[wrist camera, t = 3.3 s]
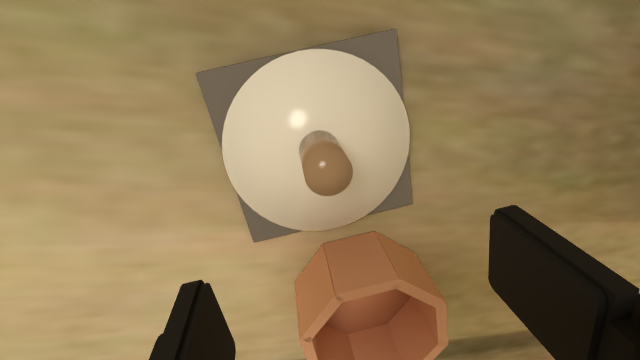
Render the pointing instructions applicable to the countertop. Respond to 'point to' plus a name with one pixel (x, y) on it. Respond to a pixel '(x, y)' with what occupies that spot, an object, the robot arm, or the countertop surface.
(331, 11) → the countertop surface
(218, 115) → the mat
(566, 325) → the robot arm
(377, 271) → the bowl
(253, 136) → the lid
